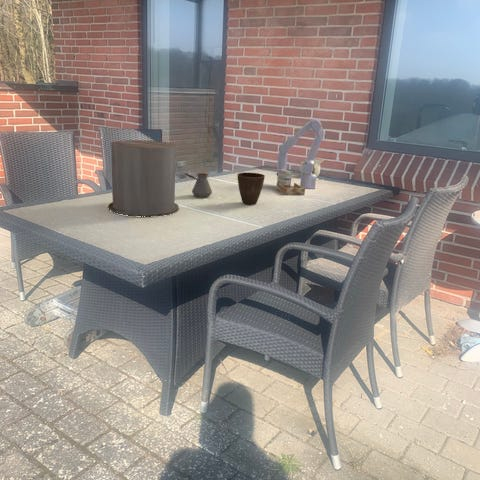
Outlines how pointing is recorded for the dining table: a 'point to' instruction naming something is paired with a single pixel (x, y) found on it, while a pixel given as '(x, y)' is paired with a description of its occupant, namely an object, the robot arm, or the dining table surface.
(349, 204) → the dining table surface
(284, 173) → the ink box
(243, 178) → the plant pot
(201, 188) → the coffee pot
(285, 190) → the pine u-shaped frame
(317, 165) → the pitcher
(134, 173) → the storage basket
